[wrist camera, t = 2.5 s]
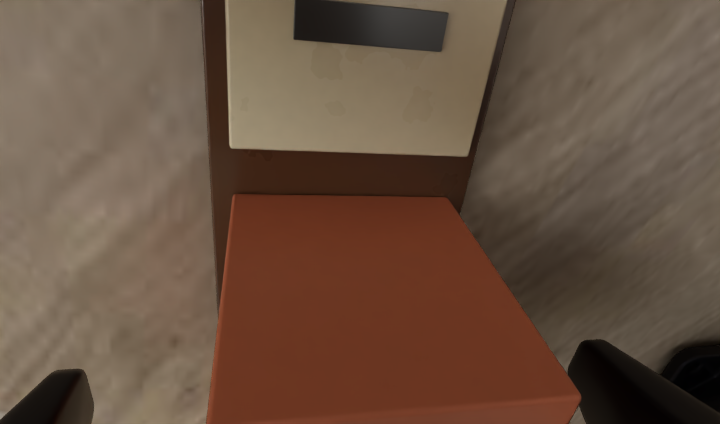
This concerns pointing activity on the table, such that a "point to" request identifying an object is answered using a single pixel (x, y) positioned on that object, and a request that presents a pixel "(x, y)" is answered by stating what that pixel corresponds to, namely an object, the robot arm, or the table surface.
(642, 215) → the table surface
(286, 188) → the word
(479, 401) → the letter block
